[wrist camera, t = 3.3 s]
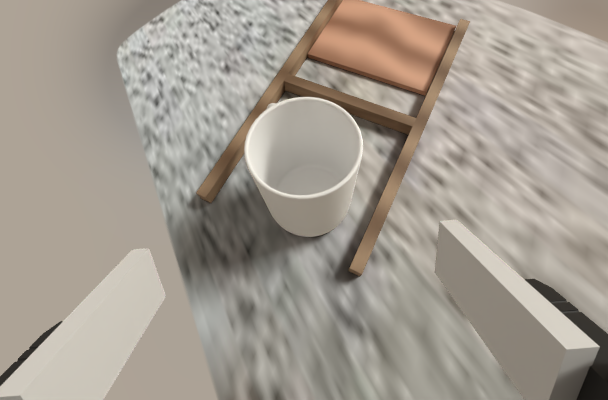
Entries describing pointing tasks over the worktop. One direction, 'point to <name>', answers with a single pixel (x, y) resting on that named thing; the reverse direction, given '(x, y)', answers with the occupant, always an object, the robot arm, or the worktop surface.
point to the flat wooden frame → (368, 62)
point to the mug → (305, 163)
